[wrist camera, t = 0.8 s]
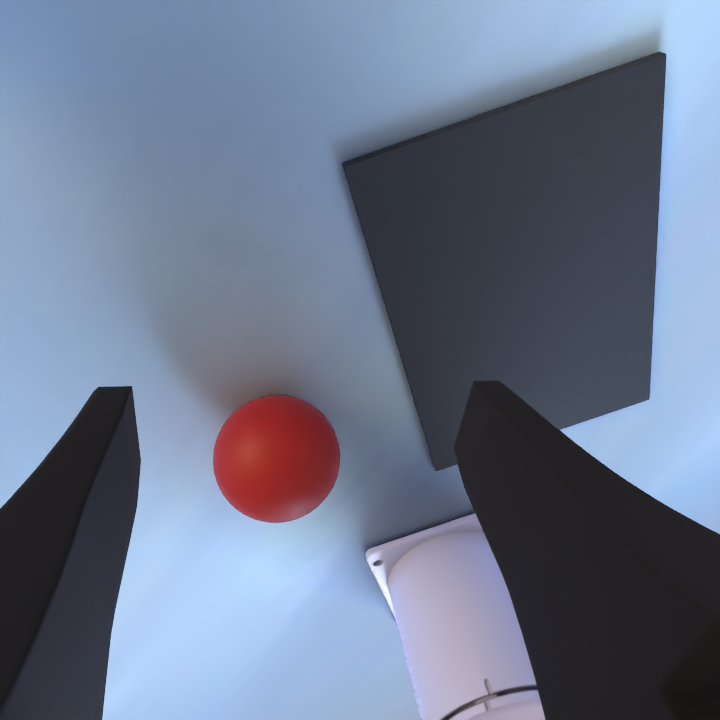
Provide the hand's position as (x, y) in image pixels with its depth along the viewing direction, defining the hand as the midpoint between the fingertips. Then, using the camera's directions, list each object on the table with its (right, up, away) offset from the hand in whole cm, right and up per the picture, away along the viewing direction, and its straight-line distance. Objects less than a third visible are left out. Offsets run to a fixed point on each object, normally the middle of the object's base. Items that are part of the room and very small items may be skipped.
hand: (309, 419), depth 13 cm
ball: (-3, -1, +13) cm, 13 cm away
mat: (+8, +4, +12) cm, 15 cm away
